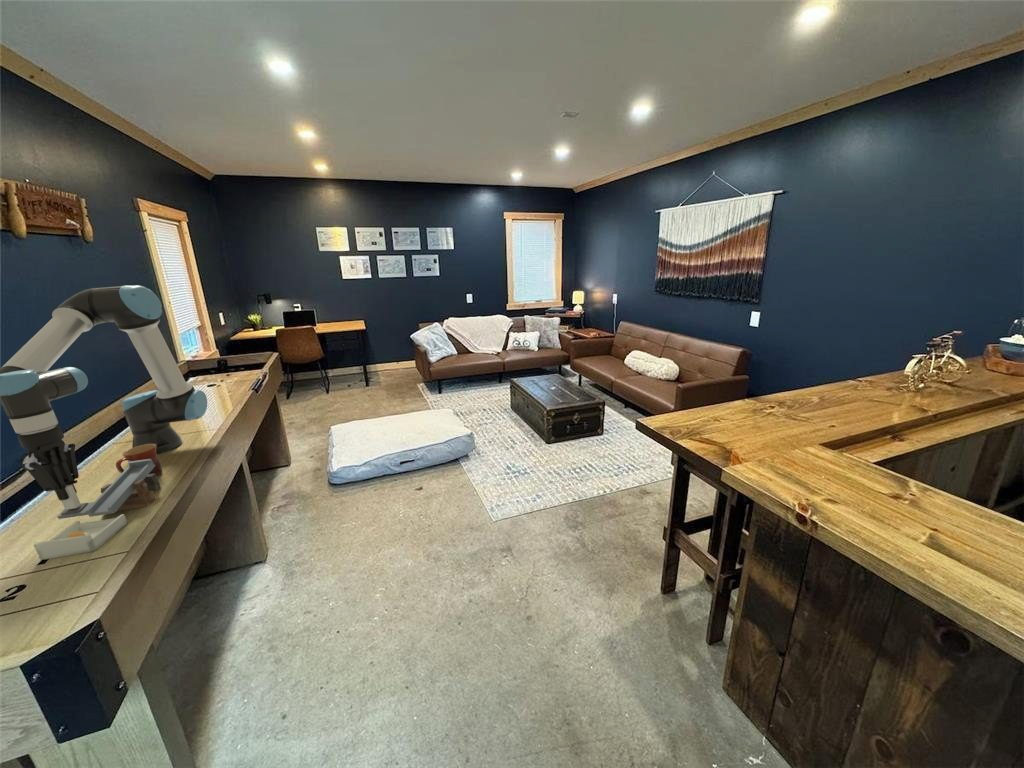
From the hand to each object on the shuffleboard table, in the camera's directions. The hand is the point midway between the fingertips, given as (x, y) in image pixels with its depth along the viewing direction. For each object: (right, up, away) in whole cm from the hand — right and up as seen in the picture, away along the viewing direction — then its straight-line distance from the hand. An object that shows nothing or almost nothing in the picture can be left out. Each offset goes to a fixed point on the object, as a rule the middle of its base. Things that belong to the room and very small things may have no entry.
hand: (73, 507), depth 110 cm
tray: (+10, -7, -6) cm, 13 cm away
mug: (-4, +2, +26) cm, 27 cm away
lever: (+3, +2, +7) cm, 8 cm away
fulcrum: (+6, -1, +13) cm, 15 cm away
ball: (+10, -5, -9) cm, 14 cm away
